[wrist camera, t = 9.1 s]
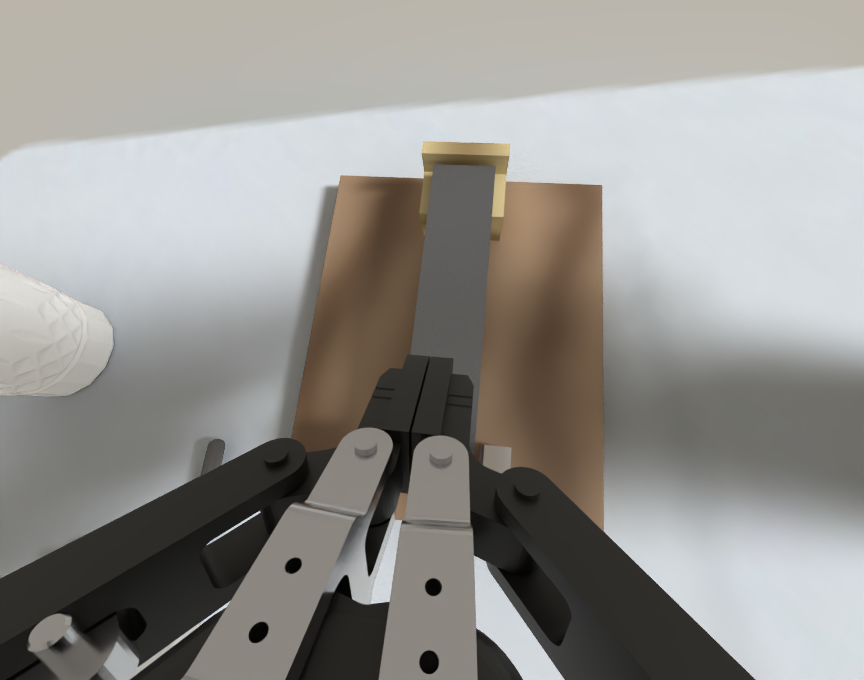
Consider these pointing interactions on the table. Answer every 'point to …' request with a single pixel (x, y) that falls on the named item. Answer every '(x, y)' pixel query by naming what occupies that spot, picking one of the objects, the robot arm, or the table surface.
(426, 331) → the strap
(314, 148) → the table surface
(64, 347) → the white cup
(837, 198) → the table surface
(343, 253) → the latch board
